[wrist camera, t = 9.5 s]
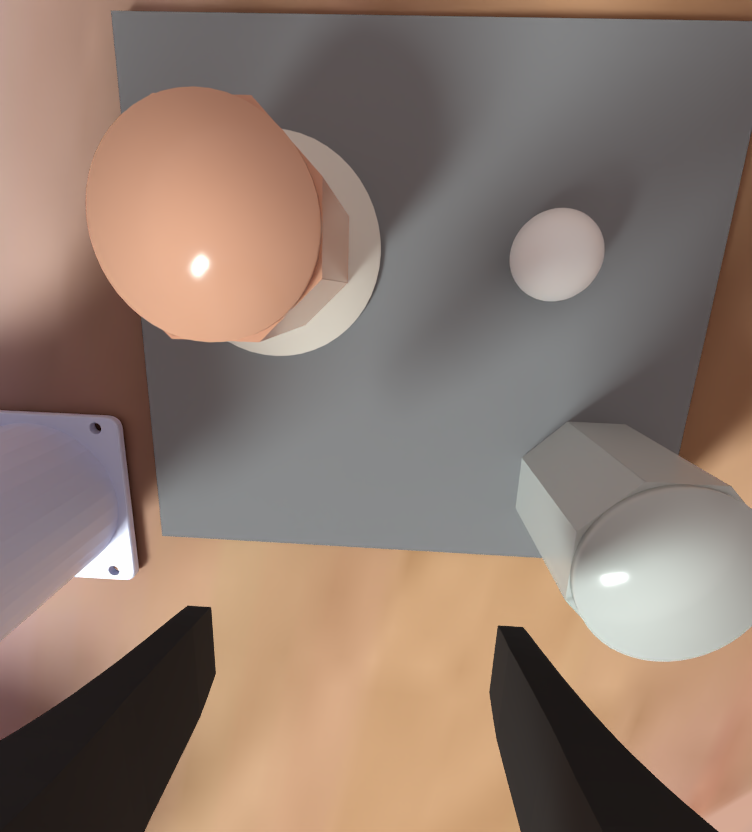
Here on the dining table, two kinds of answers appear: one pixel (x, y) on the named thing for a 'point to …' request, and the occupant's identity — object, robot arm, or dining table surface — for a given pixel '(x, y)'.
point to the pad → (361, 258)
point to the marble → (557, 254)
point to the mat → (453, 264)
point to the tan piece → (213, 218)
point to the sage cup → (639, 541)
